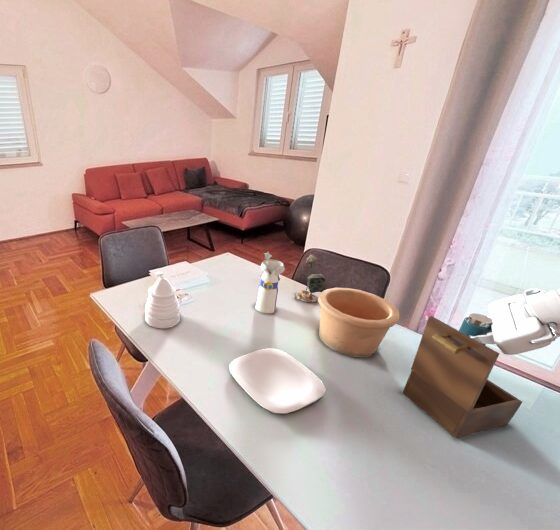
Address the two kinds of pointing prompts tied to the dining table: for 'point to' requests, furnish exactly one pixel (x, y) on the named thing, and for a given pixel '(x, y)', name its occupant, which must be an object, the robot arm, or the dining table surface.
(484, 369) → the chest lid
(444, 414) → the chest
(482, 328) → the spray can
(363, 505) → the dining table surface
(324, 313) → the pottery
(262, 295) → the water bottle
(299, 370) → the plate
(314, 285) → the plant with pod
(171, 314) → the honey pot
